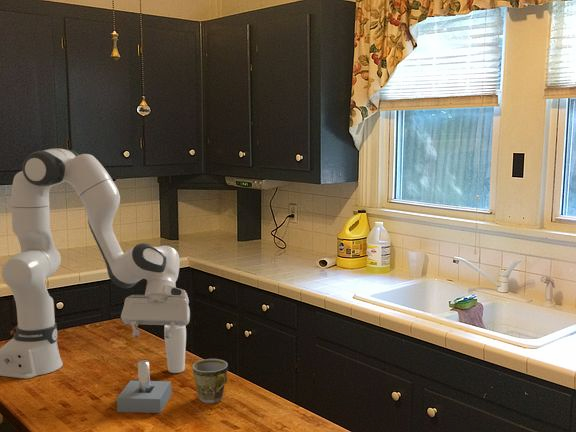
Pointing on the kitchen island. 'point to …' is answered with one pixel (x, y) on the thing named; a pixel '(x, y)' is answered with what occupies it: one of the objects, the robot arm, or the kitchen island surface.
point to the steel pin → (144, 376)
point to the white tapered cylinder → (176, 349)
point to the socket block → (144, 397)
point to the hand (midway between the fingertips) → (151, 336)
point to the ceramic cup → (210, 379)
